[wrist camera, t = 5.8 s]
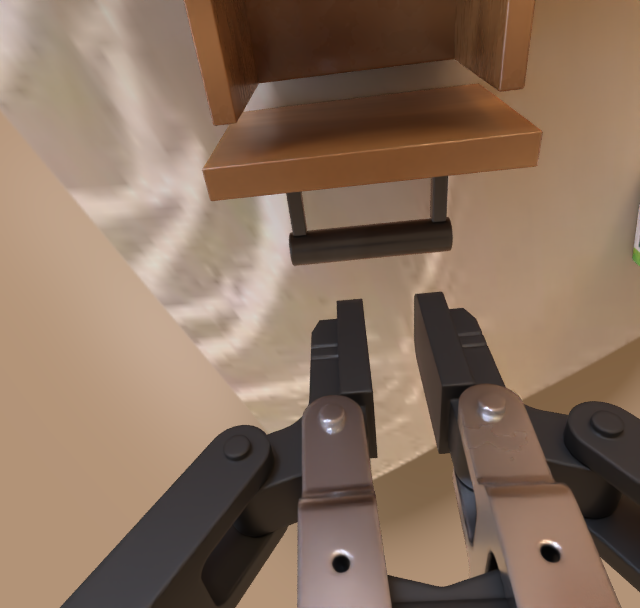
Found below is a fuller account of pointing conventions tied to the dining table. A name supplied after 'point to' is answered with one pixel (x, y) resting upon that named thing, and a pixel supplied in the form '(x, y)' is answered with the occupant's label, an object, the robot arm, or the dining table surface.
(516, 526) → the robot arm
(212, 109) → the drawer
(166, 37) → the dining table surface
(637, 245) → the syrup box
